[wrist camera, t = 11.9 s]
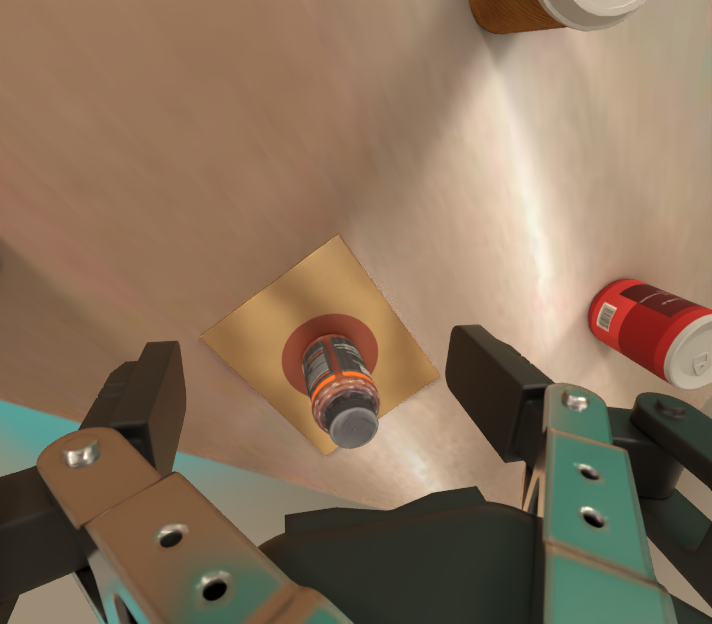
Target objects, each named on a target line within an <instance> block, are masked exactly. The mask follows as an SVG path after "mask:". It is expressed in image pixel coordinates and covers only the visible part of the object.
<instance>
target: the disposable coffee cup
mask: <svg viewBox="0 0 712 624" xmlns="http://www.w3.org/2000/svg"><path fill="white" fill-rule="evenodd" d="M645 1H647V0H469V2H470V6H471V10H472V12H473V15H474V17H475V18H476V20H477V21H478V23H479V24H480V25H481V26H482V27H483V28H484V29H486V30H488V31H489V32H492V33H495V34H507V33H517V32H527V31H537V30H547V29H555V28H565V27H569V28H572V29H576V30H581V31H595V30H603V29H607V28H609V27H612V26H614V25H616V24H619V23H620V22H622V21H623V20H625V19H626V18H628V17H629V16H631V15H632V14H633V13H634V12H635V11H636V10H637V9H638V8H639V7H640V6H641V5H642V4H643V3H644V2H645Z"/></svg>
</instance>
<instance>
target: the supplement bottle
mask: <svg viewBox="0 0 712 624" xmlns="http://www.w3.org/2000/svg"><path fill="white" fill-rule="evenodd" d="M302 368H303V373H304V378H305V383H306V387H307V392H308V397H309V401H310V406H311V410H312V414H313V417H314V420H315V422H316V424H317V425H318V426H319V427H320V428H321V429H322V430H323V431H324V432H326V433H327V434H329V435H330V437H331V439H332V441H333V442H334V443H335V444H336V445H338V446H340V447H342V448H349V449H351V448H357V447H360V446H363V445H365V444H366V443H368V442H369V441H370V440H372V438H373V437H374V436H375V434H376V432H377V430H378V419H377V415H378V412H379V409H380V397H379V393H378V390H377V388H376V386H375V384H374V382H373V380H372V377H371V375H370V373H369V371H368V369H367V367H366V365H365V363H364V361H363V359H362V357H361V355H360V352H359V350H358V348H357V347H356V345H355V344H354V343H353V342H352V341H351V340H350V339H349V338H347V337H345V336H342V335H337V334H330V335H325V336H321V337H319V338H317V339H316V340H314V341H313V342H312V343H311V344H310V345H309V346H308V347H307V348H306V350H305V352H304V354H303V358H302Z"/></svg>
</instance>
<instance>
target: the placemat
mask: <svg viewBox="0 0 712 624" xmlns="http://www.w3.org/2000/svg"><path fill="white" fill-rule="evenodd" d="M330 334H337V335H342V336H345V337H347V338H349V339H350V340H351V341H352V342H353V343H354V344H355V345H356V347H357V348H358V350H359V352H360V355H361V357H362V359H363V361H364V363H365V365H366V367H367V369H368V371H369V373H370V375H371V377H372V380H373V382H374V384H375V386H376V388H377V390H378V393H379V397H380V409H379V412H378V415H377V419H379V418H380V417H382V416H383V415H385V414H386V413H387V412H389V411H390V410H392V409H393V408H395V407H396V406H397V405H399V404H400V403H402V402H403V401H404V400H406V399H407V398H409V397H410V396H412V395H413V394H414V393H416V392H417V391H419V390H420V389H422V388H423V387H424V386H426V385H427V384H429V383H430V382H432V381H433V380H434V379H436V378H437V377H439V376H440V375H439V373H438V372H437V371H436V369H435V368H434V366H433V365H432V364H431V362H430V361H429V360H428V358H427V357H426V355H425V354H424V353H423V351H422V350H421V348H420V347H419V346H418V344H417V343H416V341H415V340H414V339H413V337H412V336H411V334H410V333H409V332H408V330H407V329H406V328H405V326H404V325H403V323H402V322H401V321H400V319H399V318H398V316H397V315H396V314H395V312H394V311H393V309H392V308H391V307H390V305H389V304H388V303H387V301H386V300H385V298H384V297H383V296H382V294H381V293H380V291H379V290H378V289H377V287H376V286H375V284H374V283H373V282H372V280H371V279H370V277H369V276H368V275H367V273H366V272H365V271H364V269H363V268H362V266H361V265H360V264H359V262H358V261H357V259H356V258H355V257H354V255H353V254H352V252H351V251H350V250H349V248H348V247H347V246H346V244H345V243H344V241H343V240H342V239H341V237H340V236H339V234H337V235H336V236H335V237H333V238H332V239H331V240H329V241H328V242H327V243H325V244H324V245H323V246H321V247H320V248H319V249H317V250H316V251H314V252H313V253H312V254H310V255H309V256H308V257H306V258H305V259H304V260H302V261H301V262H300V263H298V264H297V265H296V266H294V267H293V268H292V269H290V270H289V271H288V272H286V273H285V274H284V275H282V276H281V277H280V278H278V279H277V280H275V281H274V282H273V283H271V284H270V285H269V286H267V287H266V288H265V289H263V290H262V291H261V292H259V293H258V294H257V295H255V296H254V297H253V298H251V299H250V300H249V301H247V302H246V303H245V304H243V305H242V306H241V307H239V308H238V309H236V310H235V311H234V312H232V313H231V314H230V315H228V316H227V317H226V318H224V319H223V320H222V321H220V322H219V323H218V324H216V325H215V326H214V327H212V328H211V329H210V330H208V331H207V332H206V333H204V334H203V335H202V336H200V338H201V339H203V340H204V341H205V342H206V343H207V344H208V345H209V346H210V347H211V348H212V349H213V350H214V351H215V352H216V353H217V354H218V355H219V356H220V357H221V358H223V359H224V360H225V361H226V362H227V363H228V364H229V365H230V366H231V367H232V368H233V369H234V370H235V371H236V372H237V373H238V374H239V375H240V376H241V377H242V378H244V379H245V380H246V381H247V382H248V383H249V384H250V385H251V386H252V387H253V388H254V389H255V390H256V391H257V392H258V393H259V394H260V395H261V396H262V397H264V398H265V399H266V400H267V401H268V402H269V403H270V404H271V405H272V406H273V407H274V408H275V409H276V410H277V411H278V412H279V413H280V414H281V415H282V416H283V417H285V418H286V419H287V420H288V421H289V422H290V423H291V424H292V425H293V426H294V427H295V428H296V429H297V430H298V431H299V432H300V433H301V434H302V435H303V436H305V437H306V438H307V439H308V440H309V441H310V442H311V443H312V444H313V445H314V446H315V447H316V448H317V449H318V450H319V451H320V452H321V453H322V454H323V455H324V456H326V455H328V454H329V453H330V452H332V451H333V450H335V449H336V448H338V447H339V446H338V445H336V444H335V443H334V442H333V441H332V439H331V437H330V435H329V434H327V433H326V432H324V431H323V430H322V429H321V428H320V427H319V426H318V425H317V424H316V422H315V420H314V417H313V414H312V410H311V406H310V401H309V397H308V392H307V387H306V383H305V378H304V373H303V368H302V358H303V354H304V352H305V350H306V348H307V347H308V346H309V345H310V344H311V343H312V342H313V341H314V340H316V339H317V338H319V337H321V336H325V335H330Z"/></svg>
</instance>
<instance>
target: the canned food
mask: <svg viewBox="0 0 712 624" xmlns="http://www.w3.org/2000/svg"><path fill="white" fill-rule="evenodd" d="M589 326H590V329H591V331H592V332H593V333H594V334H595V336H596V337H597V338H598V339H599V340H601V341H602V342H604V343H605V344H607V345H609V346H610V347H612V348H613V349H615V350H617V351H618V352H620V353H621V354H623V355H625V356H626V357H628V358H629V359H631V360H632V361H634V362H636V363H637V364H639V365H640V366H642V367H644V368H645V369H647V370H648V371H650V372H652V373H653V374H655V375H656V376H658V377H660V378H661V379H663V380H664V381H666V382H668V383H670V384H671V385H673V386H675V387H677V388H679V389H682V390H695V389H698V388H701V387H704V386H706V385H707V384H709V383H711V382H712V310H711V309H708V308H706V307H703V306H701V305H698V304H696V303H693V302H691V301H688V300H686V299H683V298H681V297H678V296H676V295H673V294H670V293H668V292H665V291H663V290H660V289H658V288H655V287H653V286H650V285H648V284H645V283H643V282H640V281H638V280H630V279H624V280H618V281H615V282H613V283H611V284H609V285H608V286H607V287H605V288H604V289H603V290H602V291H601V292H600V293H599V294H598V295H597V297H596V298H595V300H594V301H593V303H592V306H591V308H590V312H589Z"/></svg>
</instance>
